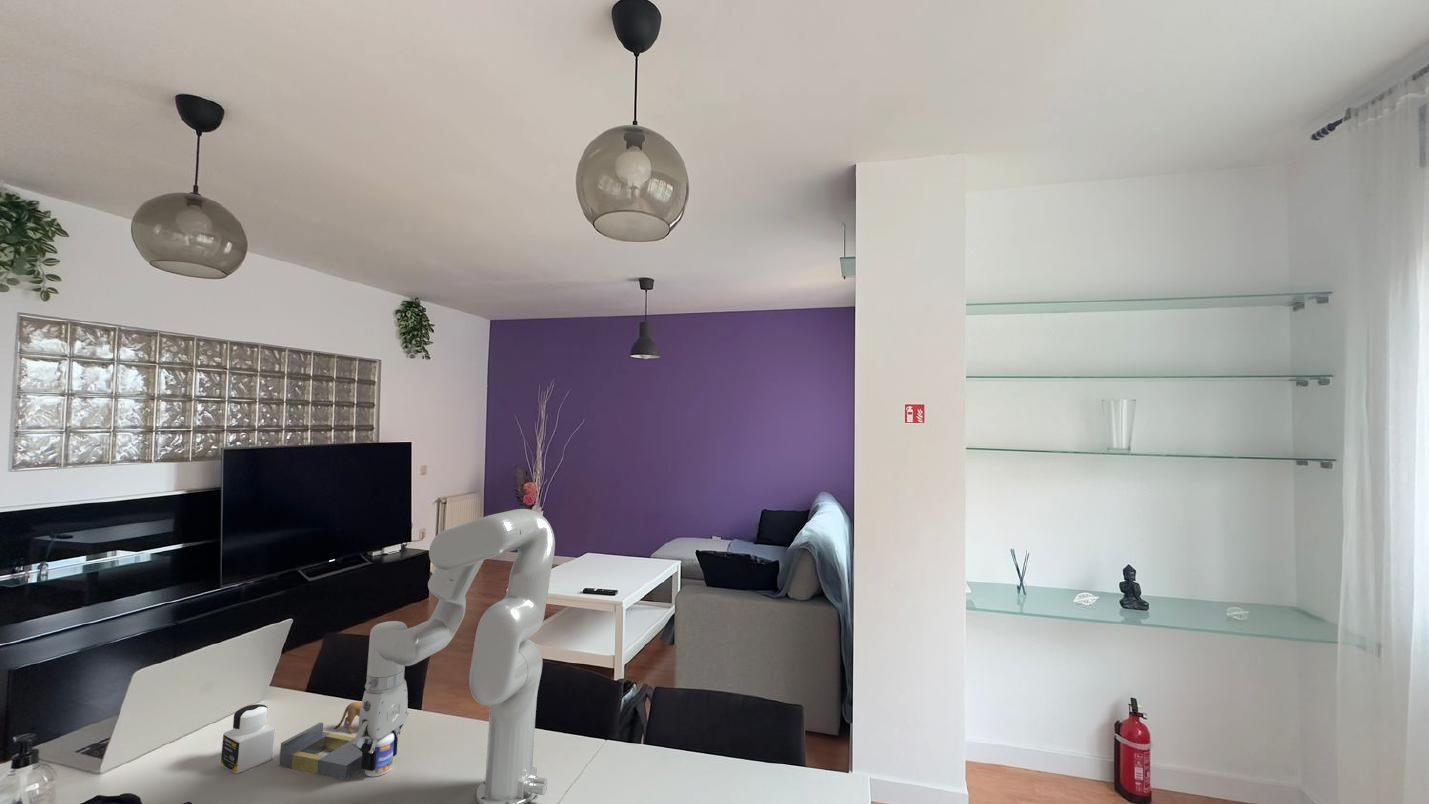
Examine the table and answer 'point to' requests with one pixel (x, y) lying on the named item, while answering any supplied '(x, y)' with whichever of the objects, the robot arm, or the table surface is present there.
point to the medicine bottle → (248, 740)
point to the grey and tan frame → (312, 741)
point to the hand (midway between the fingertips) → (379, 761)
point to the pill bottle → (383, 755)
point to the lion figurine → (350, 715)
